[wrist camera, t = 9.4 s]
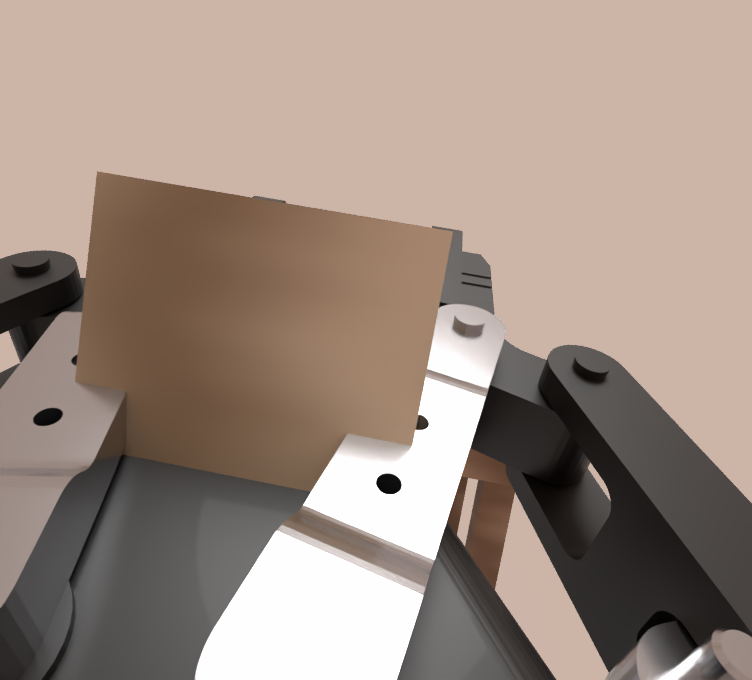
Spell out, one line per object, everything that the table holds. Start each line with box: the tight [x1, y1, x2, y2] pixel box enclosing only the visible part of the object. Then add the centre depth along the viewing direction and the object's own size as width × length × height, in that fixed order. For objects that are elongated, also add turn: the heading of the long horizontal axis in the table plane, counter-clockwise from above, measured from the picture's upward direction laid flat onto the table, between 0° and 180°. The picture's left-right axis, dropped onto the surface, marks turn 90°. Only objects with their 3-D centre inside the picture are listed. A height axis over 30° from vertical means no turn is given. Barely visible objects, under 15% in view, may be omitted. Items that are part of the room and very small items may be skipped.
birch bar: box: [75, 172, 453, 492], centre depth 17 cm, size 4×24×3 cm, turn 176°
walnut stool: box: [447, 448, 515, 590], centre depth 33 cm, size 12×15×32 cm
